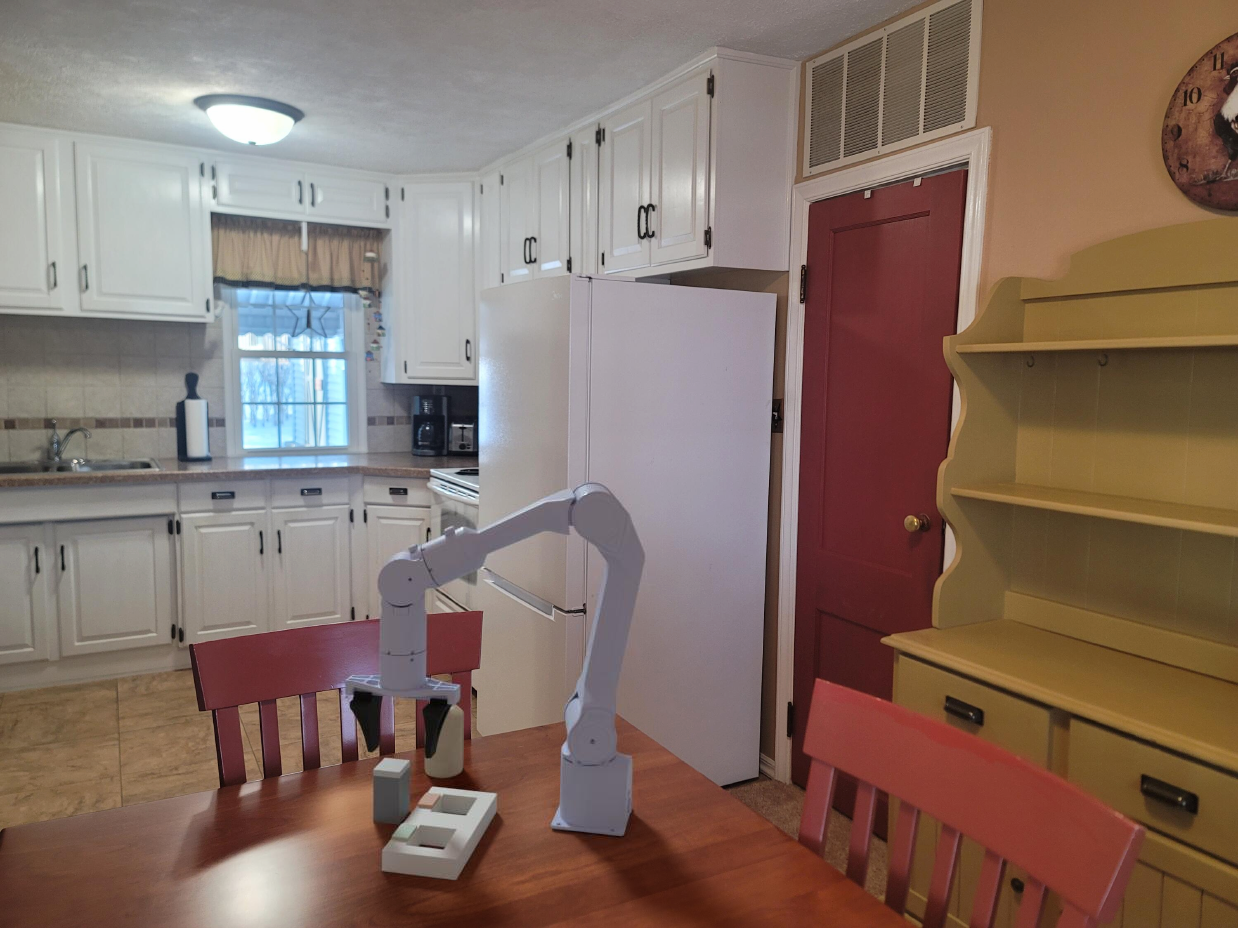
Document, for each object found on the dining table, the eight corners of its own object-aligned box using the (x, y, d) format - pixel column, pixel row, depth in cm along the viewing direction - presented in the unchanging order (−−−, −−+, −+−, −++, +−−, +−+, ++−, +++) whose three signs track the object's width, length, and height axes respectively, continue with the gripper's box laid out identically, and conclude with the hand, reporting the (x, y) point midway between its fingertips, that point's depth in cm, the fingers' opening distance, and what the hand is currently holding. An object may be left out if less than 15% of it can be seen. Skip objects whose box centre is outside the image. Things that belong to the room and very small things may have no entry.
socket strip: (496, 811, 115) (497, 790, 115) (456, 879, 100) (456, 856, 99) (432, 804, 117) (432, 783, 116) (381, 870, 101) (382, 847, 101)
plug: (409, 810, 115) (410, 760, 114) (399, 824, 111) (399, 772, 111) (384, 808, 115) (384, 757, 115) (373, 821, 112) (373, 769, 111)
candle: (454, 780, 124) (455, 712, 123) (418, 775, 125) (418, 708, 124) (468, 763, 129) (469, 698, 128) (434, 759, 130) (434, 695, 129)
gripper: (468, 643, 112) (466, 744, 114) (362, 634, 114) (361, 733, 116) (450, 661, 105) (448, 768, 107) (337, 651, 107) (337, 756, 109)
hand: (401, 752), depth 111 cm, fingers open, 7 cm apart
